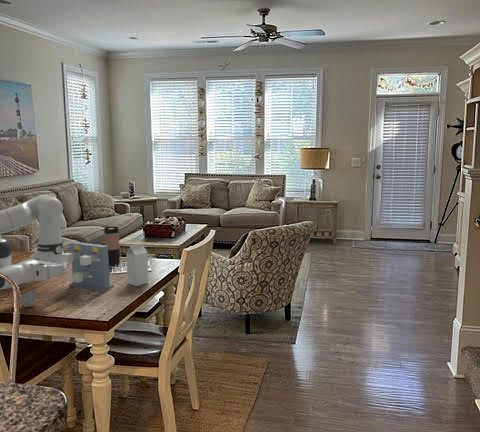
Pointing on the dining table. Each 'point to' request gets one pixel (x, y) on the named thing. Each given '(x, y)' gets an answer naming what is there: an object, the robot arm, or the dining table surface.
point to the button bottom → (80, 276)
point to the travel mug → (112, 244)
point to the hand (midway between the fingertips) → (56, 263)
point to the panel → (92, 267)
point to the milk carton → (137, 265)
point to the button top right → (88, 259)
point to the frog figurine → (29, 298)
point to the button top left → (70, 256)
